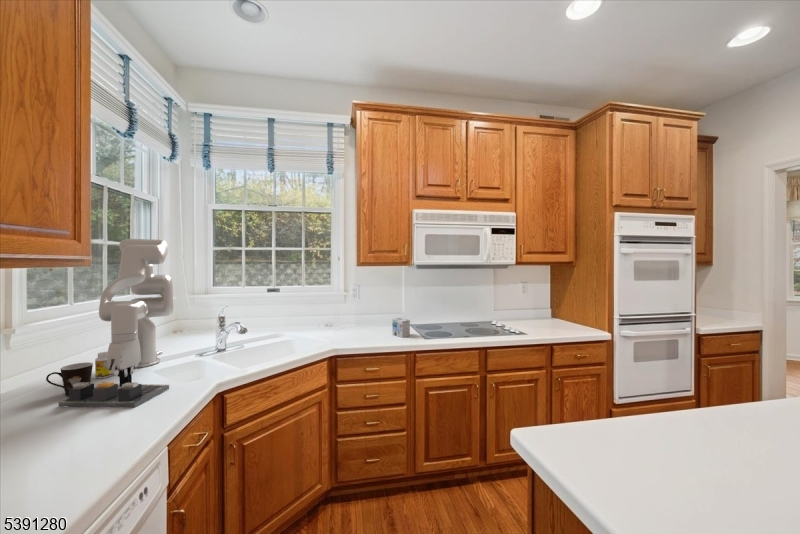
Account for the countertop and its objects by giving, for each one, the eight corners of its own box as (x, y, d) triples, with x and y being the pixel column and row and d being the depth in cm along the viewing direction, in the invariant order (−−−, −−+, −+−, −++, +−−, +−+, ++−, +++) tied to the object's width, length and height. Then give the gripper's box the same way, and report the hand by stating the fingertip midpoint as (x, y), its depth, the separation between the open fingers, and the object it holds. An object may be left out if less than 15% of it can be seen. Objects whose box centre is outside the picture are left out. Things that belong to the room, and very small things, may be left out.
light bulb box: (392, 334, 217) (392, 318, 217) (399, 333, 222) (399, 317, 221) (402, 337, 209) (402, 321, 209) (410, 336, 214) (410, 319, 213)
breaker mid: (106, 394, 116) (106, 380, 115) (117, 394, 116) (117, 380, 115) (93, 400, 111) (93, 386, 110) (104, 400, 111) (104, 386, 110)
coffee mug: (99, 387, 127) (98, 361, 127) (81, 396, 118) (81, 369, 118) (64, 389, 125) (64, 363, 125) (44, 398, 116) (43, 370, 116)
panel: (102, 388, 126) (102, 371, 126) (169, 388, 125) (169, 371, 125) (58, 406, 110) (58, 387, 110) (134, 407, 109) (134, 387, 109)
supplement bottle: (93, 377, 137) (92, 353, 137) (109, 373, 142) (109, 350, 142) (98, 379, 135) (98, 355, 135) (115, 375, 140) (115, 352, 139)
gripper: (131, 332, 128) (132, 378, 129) (95, 342, 113) (96, 394, 114) (150, 332, 128) (151, 378, 129) (116, 342, 113) (117, 394, 114)
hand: (125, 385), depth 121 cm, fingers closed
